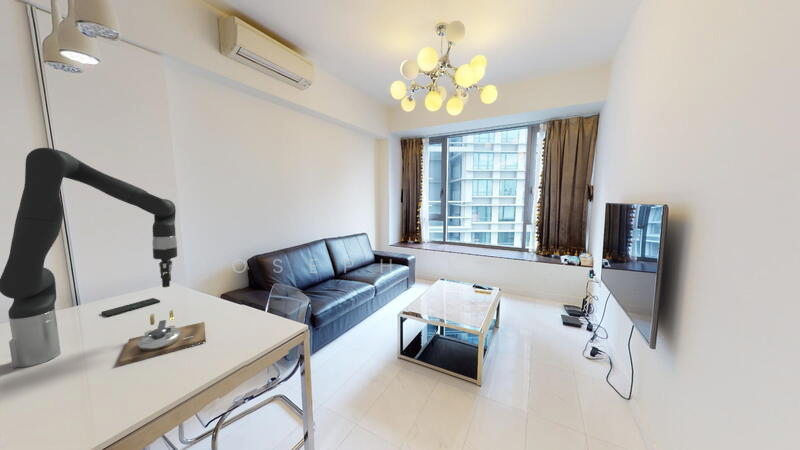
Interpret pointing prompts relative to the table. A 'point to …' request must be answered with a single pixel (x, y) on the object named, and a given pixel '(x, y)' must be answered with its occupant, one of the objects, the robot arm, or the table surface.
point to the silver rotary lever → (159, 336)
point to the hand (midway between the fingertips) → (166, 284)
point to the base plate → (187, 338)
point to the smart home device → (130, 307)
